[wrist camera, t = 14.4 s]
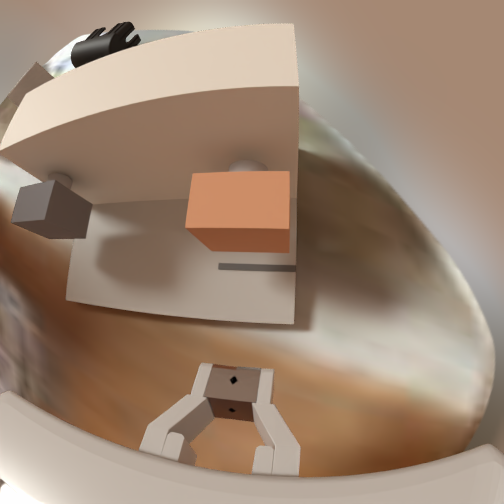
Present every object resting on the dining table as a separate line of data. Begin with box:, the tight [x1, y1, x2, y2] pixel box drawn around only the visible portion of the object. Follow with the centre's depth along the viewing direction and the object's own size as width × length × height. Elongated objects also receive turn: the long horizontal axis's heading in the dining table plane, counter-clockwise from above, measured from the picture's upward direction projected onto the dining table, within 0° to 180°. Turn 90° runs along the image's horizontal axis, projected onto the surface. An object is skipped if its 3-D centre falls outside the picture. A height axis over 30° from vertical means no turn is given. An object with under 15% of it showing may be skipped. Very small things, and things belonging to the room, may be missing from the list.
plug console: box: [0, 24, 299, 324], centre depth 19 cm, size 16×22×14 cm
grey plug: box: [11, 173, 93, 239], centre depth 19 cm, size 4×5×5 cm
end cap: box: [71, 22, 141, 68], centre depth 31 cm, size 10×7×7 cm
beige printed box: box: [7, 62, 54, 107], centre depth 29 cm, size 4×7×10 cm, turn 146°
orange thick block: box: [185, 160, 290, 253], centre depth 16 cm, size 4×5×5 cm
